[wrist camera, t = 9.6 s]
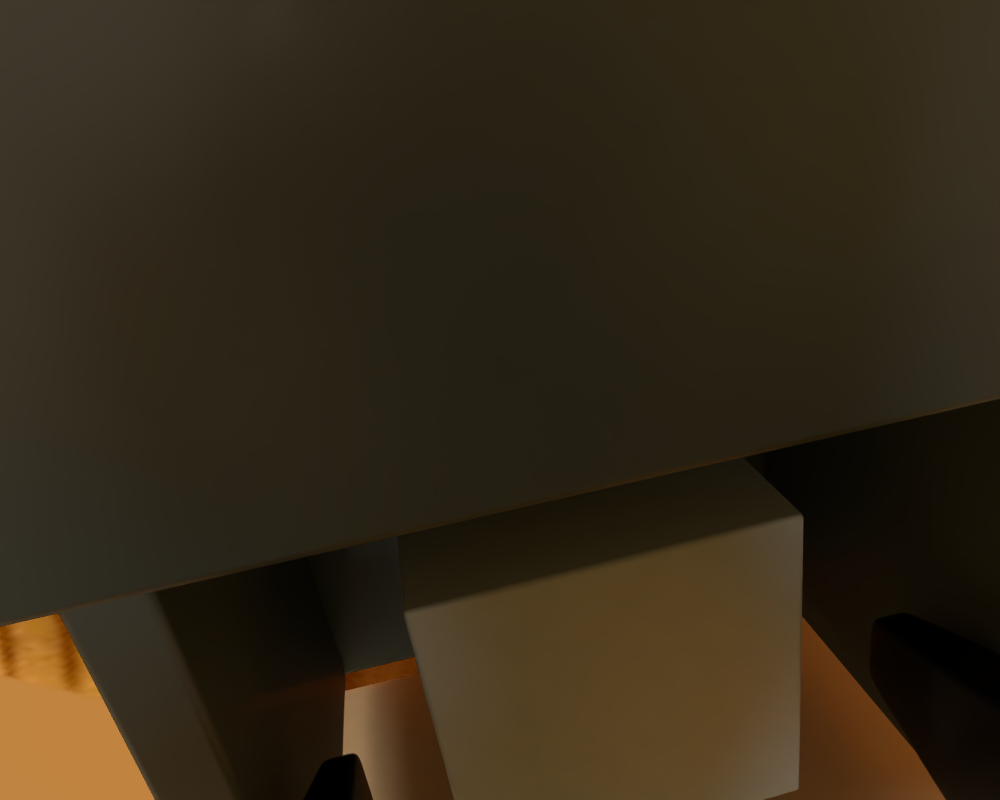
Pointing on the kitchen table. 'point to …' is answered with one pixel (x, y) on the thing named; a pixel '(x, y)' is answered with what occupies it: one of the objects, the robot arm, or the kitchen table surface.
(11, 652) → the kitchen table surface
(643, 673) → the block
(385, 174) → the cabinet
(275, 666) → the drawer
